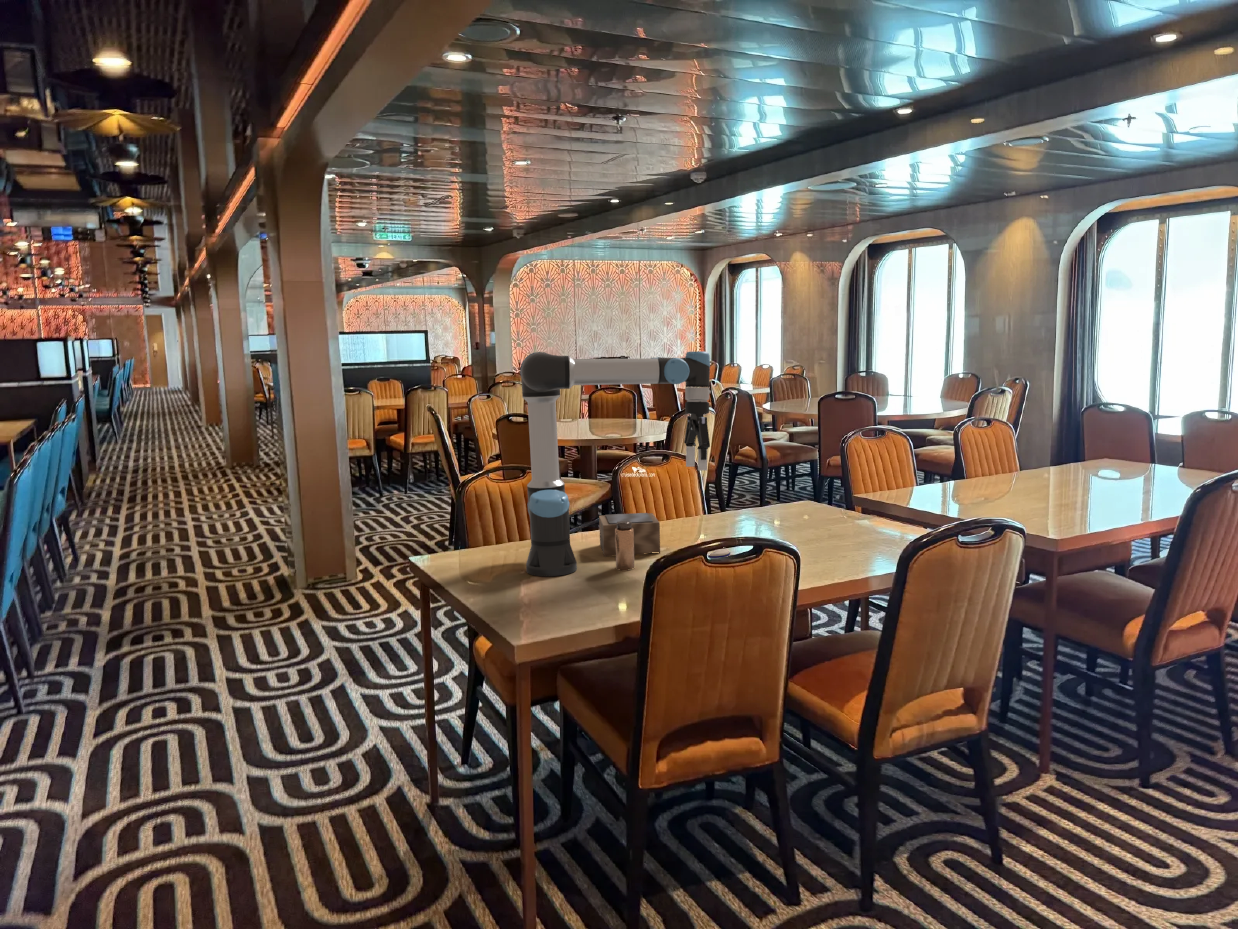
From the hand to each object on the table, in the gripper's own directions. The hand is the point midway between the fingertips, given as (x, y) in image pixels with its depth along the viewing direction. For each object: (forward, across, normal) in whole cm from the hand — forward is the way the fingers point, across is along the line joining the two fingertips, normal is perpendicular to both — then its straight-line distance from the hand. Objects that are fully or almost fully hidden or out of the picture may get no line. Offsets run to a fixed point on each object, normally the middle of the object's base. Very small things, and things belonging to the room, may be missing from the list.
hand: (696, 468), depth 274 cm
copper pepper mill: (+29, -12, +25) cm, 40 cm away
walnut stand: (+27, +12, +19) cm, 35 cm away
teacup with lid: (+29, -34, +3) cm, 45 cm away
